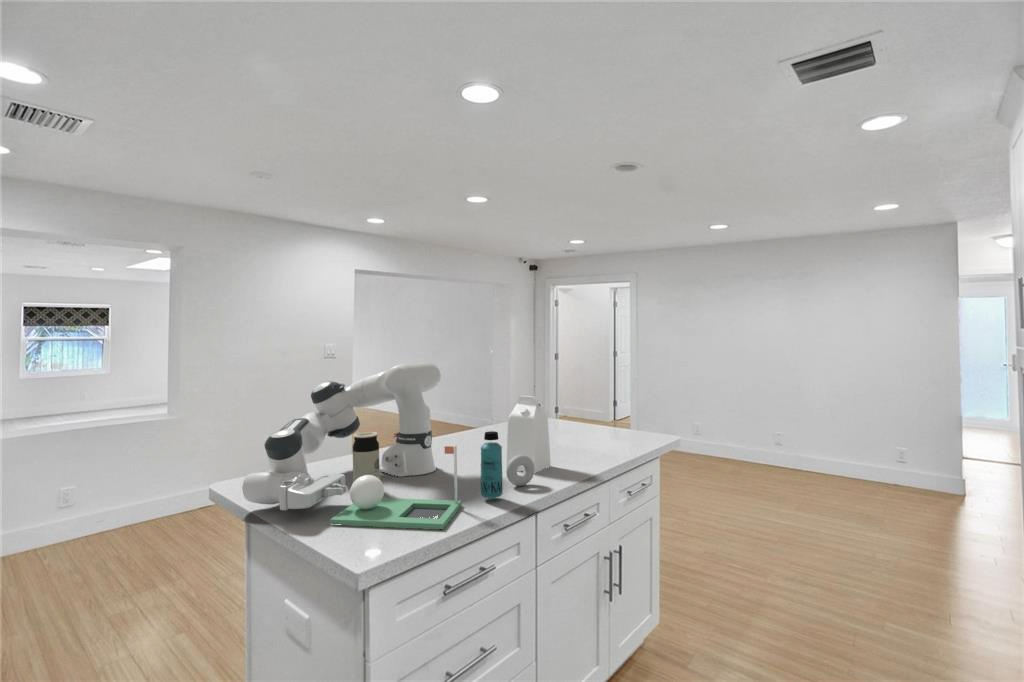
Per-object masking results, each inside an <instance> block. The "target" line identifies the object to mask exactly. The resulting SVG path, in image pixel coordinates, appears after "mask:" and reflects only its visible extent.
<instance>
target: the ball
mask: <svg viewBox="0 0 1024 682" xmlns="http://www.w3.org/2000/svg"><path fill="white" fill-rule="evenodd" d="M384 495H385V487H384V484H383V482H382V481H381V478H380V479H378V478H377V477H375V476H373V475H364V476H361V477H359V478H358V479H356V480H355V481H354V483H352V485H350V490H349V497H350V501H351V502H352V504H354V505H355V506H357V507H358V508H360V509H371V508H373V507H375V506H377V505H378V504H379V503H380V502H381V500H382V498H384Z"/></svg>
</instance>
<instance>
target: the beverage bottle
mask: <svg viewBox="0 0 1024 682" xmlns="http://www.w3.org/2000/svg"><path fill="white" fill-rule="evenodd" d="M483 439H484V440H485V441H489V442H484V443H483V444H482V445H481V446H480V495H481V497H482V498H485V499H495V498H499V497H501V496H502V495H503V492H504V491H503V490H504V485H503V481H504V480H503V477H504V476H503V474H504V473H503V452H502V451H503V446H502V445H501V444H500V443H499V442H496V441H497V440H499V433H498V431H491V430H490V431H485V432H484V437H483ZM492 441H493V442H492Z"/></svg>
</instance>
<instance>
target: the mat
mask: <svg viewBox="0 0 1024 682" xmlns="http://www.w3.org/2000/svg"><path fill="white" fill-rule="evenodd" d="M457 450H458V449H457V445H453V446H451V445H449V446H448V445H447V446H446V445H445V446H444V455H447V454H449V455H453V475H454V476H453V480H454V483H453V484H454V488H453V489H454V491H453V492H454V499H453V500H452V499H451V500H449V499H424V498H423V499H422V498H420V499H419V498H395V497H393V498H392V497H391V498H389V497H383V498H382V500H381V502H380V503H379V504H378V505H377V506H375V507H373V508H371V509H360V508H358V507H357V506H355V505H354V504H353V503H352V504H350V505H349V506H347V507H346V508H345V509H343V510H342V511H340V512H339V513H337V514H336V515H335V516H333V517H331V518H330V523H331V524H341V525H352V526H351V527H361V526H370V527H369V528H383V527H391V528H390V529H406V528H426V529H425V530H428V528H429V529H442V530H441V531H444V529H445V528H446V527H447V525H449V523H450V522H449V521H452V519H453V518H454V516H455V515H456V514H457V513H458V512H459V510H460V509H459V508H461V507H462V504H463V503H462V500H458V461H457V460H458V459H457V458H458V456H457V455H458V454H457V452H458V451H457ZM456 512H457V513H456ZM437 515H438V518H437V519H436V518H435V519H433V518H434V517H435V516H437ZM433 516H434V517H433ZM420 517H421V518H420ZM422 517H423V518H422ZM429 517H430V518H429ZM452 517H453V518H452ZM451 518H452V519H451ZM448 522H449V523H448ZM371 526H373V527H371ZM445 526H446V527H445ZM392 527H394V528H392ZM444 527H445V528H444Z"/></svg>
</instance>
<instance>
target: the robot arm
mask: <svg viewBox="0 0 1024 682" xmlns="http://www.w3.org/2000/svg"><path fill="white" fill-rule="evenodd" d="M441 376H442V375H441V371H440V369H439V366H437V365H436V364H433V363H431V362H428V361H418V362H407V363H398V364H397V365H395V366H393V367H391V368H389V369H388V370H384V371H381V372H377V373H376V374H372V375H368V376H366V377H364V378H361V379H359V380H357V381H355V382H353V383H352V384H350V385H349V386H347V387H345V386H346V385H345V384H344V383H339V382H336V381H326V382H322V383H319V385H316V386H315V388H314V389H313V390H312V391H311V394H310V398H311V400H312V403H313V404H314V405H315V407H316V410H317V412H313V411H312V412H307V413H306V414H304V415H303V416H301V417H299V418H295V419H292V420H291V421H289V422H287V423H286V424H285V425H284V426H283V427H282V428H280V429H279V430H277V431H275V432H273V433H272V434H270V435H269V437H268V438H267V439H266V440H265V441H264V450H265V452H266V456H267V458H268V464H269V468H270V470H268V471H260V472H259V471H258V472H252V473H248V474H247V475H246V476H245V477H244V480H243V482H242V487H241V488H242V494H243V497H244V499H245V500H246V501H248V502H250V503H253V504H259V505H277V504H279V510H280V511H288V510H300V509H302V510H304V509H308V508H311V507H313V506H315V505H316V504H318V503H319V502H322V501H323V500H324V499H326V498H328V497H329V498H330V497H335V496H343V495H344V494H346V493H348V485H346V484H347V483H346V475H345V474H343V473H326V474H320V475H318V476H316V477H312V476H311V475H310V474H309V472H308V466H307V461H306V457H305V455H308V454H309V455H310V454H313V453H315V452H317V451H318V450H319V449H320V448H321V446H322V445H323V444H324V441H325V438H326V435H327V436H328V437H329V438H333V437H334V438H336V439H344V438H347V437H350V436H351V435H352V436H353V435H354V434H355V433H356V432H357V431H358V430H359V428H360V426H361V423H360V419H359V417H358V415H357V413H356V411H355V409H354V408H359V409H360V408H367V407H373V406H378V405H381V404H384V403H388V402H391V401H394V400H395V403H396V405H397V410H398V423H399V424H398V426H399V428H398V429H399V431H398V432H397V433H393V435H394V436H393V438H396V439H395V442H394V443H393V444H392V445H390V446H389V448H387V449H386V450H385V451H384V452H383V453H382V455H381V463H379V470H380V471H381V472H380V473H382V472H385V473H384V474H386V473H388V474H387V475H390V474H391V475H390V476H394V475H395V476H394V477H397V476H398V478H401V477H407V476H409V477H410V476H420V475H426V474H430V473H432V472H434V471H436V469H437V467H436V465H435V461H434V455H433V448H432V443H433V433H432V430H431V429H432V428H431V427H432V426H431V409H430V407H429V406H428V405H427V404H426V402H425V400H424V397H423V393H425V392H428V391H431V390H432V389H434V388H436V387H437V386H438V385H439V384H440V382H441V378H442V377H441Z"/></svg>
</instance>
